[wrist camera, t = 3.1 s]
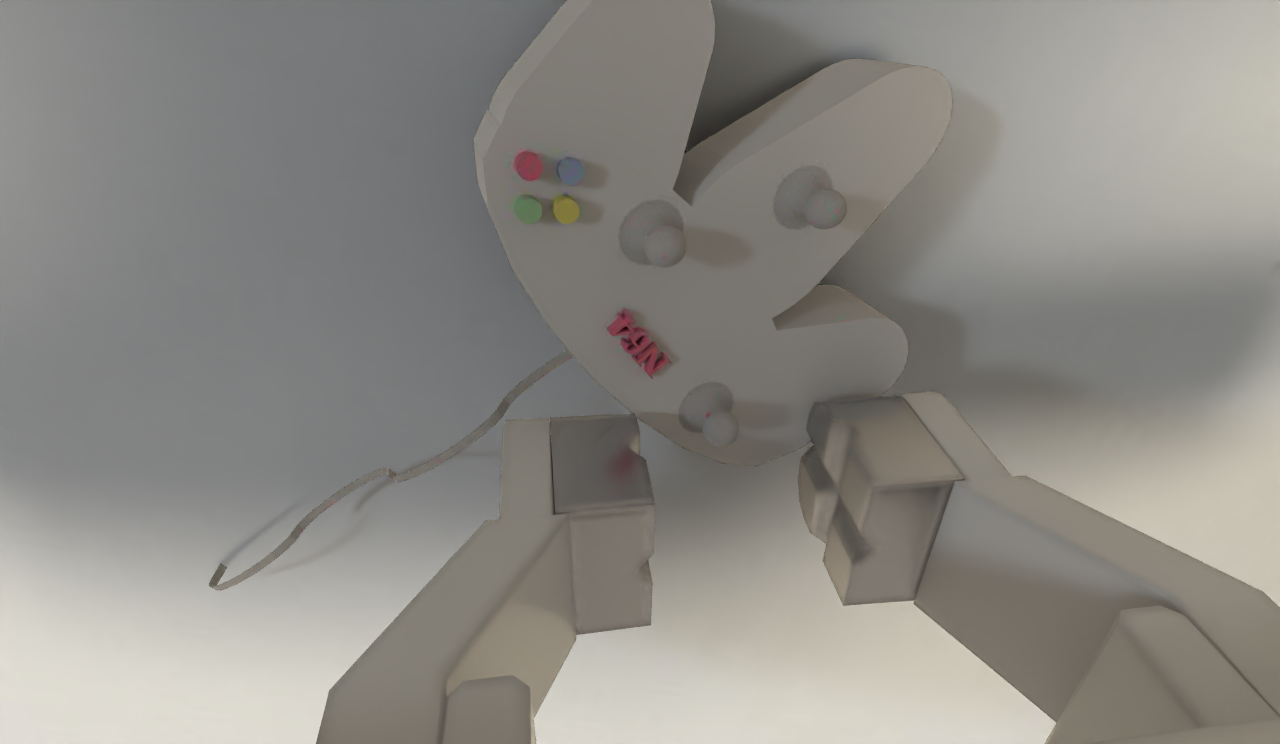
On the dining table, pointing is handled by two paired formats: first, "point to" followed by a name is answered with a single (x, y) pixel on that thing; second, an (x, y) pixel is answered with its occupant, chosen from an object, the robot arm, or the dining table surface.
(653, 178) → the game controller
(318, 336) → the dining table surface
